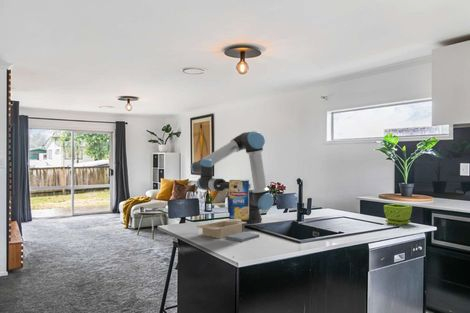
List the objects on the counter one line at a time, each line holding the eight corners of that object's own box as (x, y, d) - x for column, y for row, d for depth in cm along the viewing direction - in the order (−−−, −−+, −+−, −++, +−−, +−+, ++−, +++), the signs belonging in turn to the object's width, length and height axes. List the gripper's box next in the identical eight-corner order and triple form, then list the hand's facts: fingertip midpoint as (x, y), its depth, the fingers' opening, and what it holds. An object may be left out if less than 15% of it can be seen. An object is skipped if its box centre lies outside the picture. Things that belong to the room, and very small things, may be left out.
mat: (243, 234, 215) (243, 231, 215) (259, 237, 207) (259, 234, 207) (225, 238, 202) (225, 236, 202) (241, 242, 195) (241, 239, 195)
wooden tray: (229, 228, 231) (229, 219, 231) (246, 231, 221) (246, 222, 221) (196, 236, 209) (196, 226, 209) (214, 240, 199) (214, 229, 199)
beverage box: (248, 219, 201) (248, 180, 201) (229, 219, 202) (229, 180, 202) (249, 217, 207) (249, 179, 207) (230, 217, 208) (230, 179, 209)
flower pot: (394, 221, 257) (394, 203, 257) (413, 224, 245) (413, 205, 245) (382, 223, 250) (382, 205, 250) (401, 226, 238) (401, 207, 238)
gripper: (228, 189, 225) (256, 191, 209) (205, 191, 210) (234, 194, 195) (228, 177, 225) (256, 179, 209) (205, 179, 210) (234, 180, 195)
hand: (246, 186), depth 202 cm, fingers closed on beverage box, 7 cm apart
